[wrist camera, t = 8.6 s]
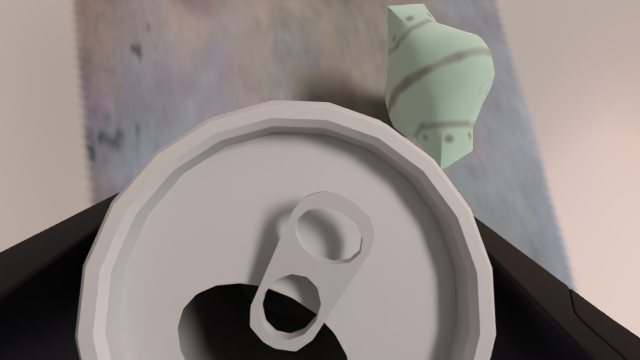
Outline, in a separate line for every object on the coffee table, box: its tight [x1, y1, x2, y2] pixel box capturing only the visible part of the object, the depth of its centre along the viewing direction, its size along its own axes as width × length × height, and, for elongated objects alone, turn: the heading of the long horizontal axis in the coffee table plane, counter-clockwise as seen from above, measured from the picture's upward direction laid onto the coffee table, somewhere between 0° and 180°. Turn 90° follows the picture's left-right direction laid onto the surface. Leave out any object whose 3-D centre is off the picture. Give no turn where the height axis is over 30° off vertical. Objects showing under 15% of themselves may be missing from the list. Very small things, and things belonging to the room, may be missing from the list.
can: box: [75, 100, 496, 360], centre depth 10 cm, size 8×8×12 cm
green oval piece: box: [385, 4, 495, 170], centre depth 15 cm, size 8×4×7 cm, turn 15°
